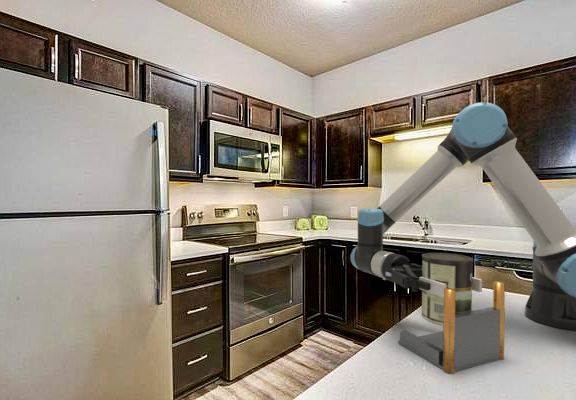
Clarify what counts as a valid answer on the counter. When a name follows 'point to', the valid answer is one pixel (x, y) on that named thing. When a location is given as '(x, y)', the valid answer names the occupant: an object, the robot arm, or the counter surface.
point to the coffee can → (447, 283)
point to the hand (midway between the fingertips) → (463, 288)
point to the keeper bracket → (463, 335)
